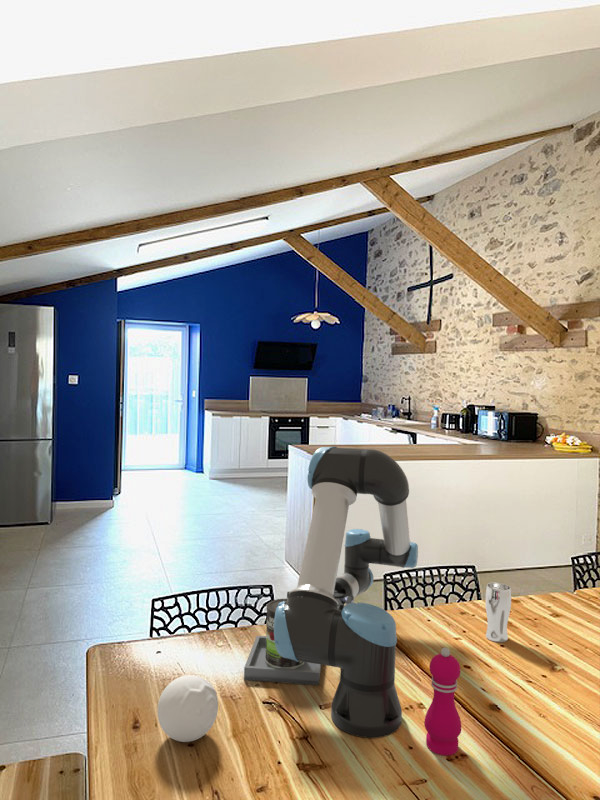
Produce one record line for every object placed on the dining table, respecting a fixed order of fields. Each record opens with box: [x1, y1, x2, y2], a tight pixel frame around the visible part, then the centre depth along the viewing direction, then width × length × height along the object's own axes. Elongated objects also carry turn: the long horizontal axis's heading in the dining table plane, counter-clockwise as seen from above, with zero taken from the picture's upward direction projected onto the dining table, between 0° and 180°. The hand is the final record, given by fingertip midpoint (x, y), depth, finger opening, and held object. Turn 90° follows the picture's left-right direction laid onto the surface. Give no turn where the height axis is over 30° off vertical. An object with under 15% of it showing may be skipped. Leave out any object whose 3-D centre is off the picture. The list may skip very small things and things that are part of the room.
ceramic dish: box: [243, 635, 322, 686], centre depth 152 cm, size 18×18×3 cm
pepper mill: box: [424, 647, 462, 756], centre depth 119 cm, size 7×7×20 cm
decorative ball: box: [156, 674, 219, 743], centre depth 120 cm, size 12×12×12 cm
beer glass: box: [484, 581, 512, 643], centre depth 171 cm, size 7×7×15 cm
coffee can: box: [265, 598, 305, 669], centre depth 152 cm, size 10×10×14 cm
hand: (302, 613), depth 158 cm, fingers open, 13 cm apart
